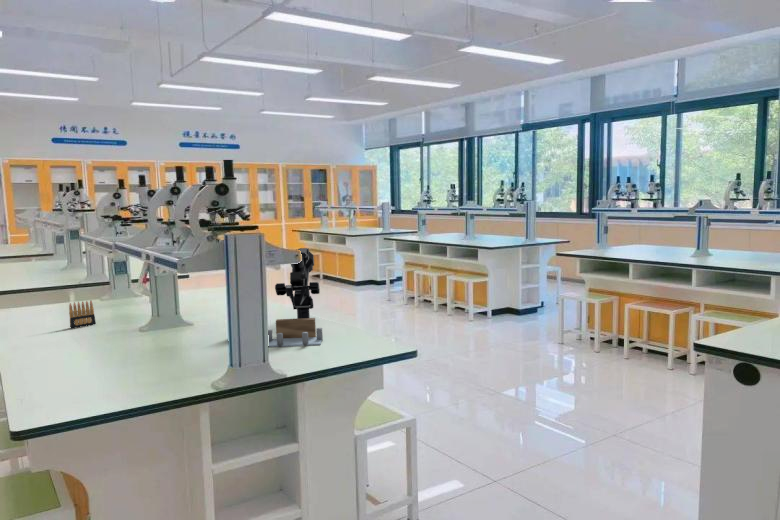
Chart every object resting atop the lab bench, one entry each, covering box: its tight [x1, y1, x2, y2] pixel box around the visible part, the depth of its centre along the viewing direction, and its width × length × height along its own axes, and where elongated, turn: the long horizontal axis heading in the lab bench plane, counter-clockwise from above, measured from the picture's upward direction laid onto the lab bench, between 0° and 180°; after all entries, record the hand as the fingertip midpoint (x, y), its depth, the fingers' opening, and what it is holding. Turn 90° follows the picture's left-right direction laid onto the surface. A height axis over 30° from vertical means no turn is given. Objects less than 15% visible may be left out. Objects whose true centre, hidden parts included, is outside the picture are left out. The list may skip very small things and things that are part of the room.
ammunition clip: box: [68, 300, 97, 329], centre depth 273 cm, size 11×2×12 cm, turn 129°
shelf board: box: [275, 317, 317, 338], centre depth 241 cm, size 3×16×8 cm, turn 92°
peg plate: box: [267, 327, 324, 348], centre depth 234 cm, size 10×23×5 cm, turn 92°
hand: (296, 304), depth 246 cm, fingers open, 3 cm apart
